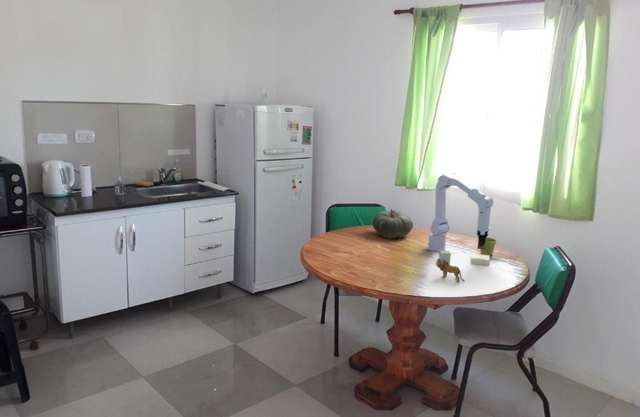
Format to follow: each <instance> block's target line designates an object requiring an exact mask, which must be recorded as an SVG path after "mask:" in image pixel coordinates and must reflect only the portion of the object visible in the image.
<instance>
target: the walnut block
mask: <svg viewBox="0 0 640 417" xmlns="http://www.w3.org/2000/svg"><path fill="white" fill-rule="evenodd" d="M477 249H478V250H481V249H486V240H485V243H484V246H479V239H478V240H477Z"/></svg>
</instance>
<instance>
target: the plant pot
mask: <svg viewBox="0 0 640 417" xmlns="http://www.w3.org/2000/svg"><path fill="white" fill-rule="evenodd" d="M497 241H498V240H497V239H496V238H493V237H487V238H486V249H480V254H481V255H490V257H491V256H493V253H494V249H495V245H496V244H497Z"/></svg>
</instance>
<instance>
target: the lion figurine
mask: <svg viewBox="0 0 640 417" xmlns="http://www.w3.org/2000/svg"><path fill="white" fill-rule="evenodd" d="M435 266H436V267H437V268H438V269H440V271H442V276H441V278H443V279H444V278H446V277H447V275H448V274H449V273H450V274H453V275H454V277H455V278H454V280H456V283H460V281H462V282H466V281H465V279H464V278H463V277H462V272H461V269H460V267H458V266H456V265H455V266H453V265H450V263H448V262H447V261H445V260H444V259H442V258H439V257H438V258H437V259H436V263H435ZM460 279H461V280H460Z"/></svg>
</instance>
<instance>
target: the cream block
mask: <svg viewBox="0 0 640 417" xmlns="http://www.w3.org/2000/svg"><path fill="white" fill-rule="evenodd" d="M490 257H491V255H481V253H480V254H478V253H471V256H470V258H471V259H470V264H476V265H487V266H490Z"/></svg>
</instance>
